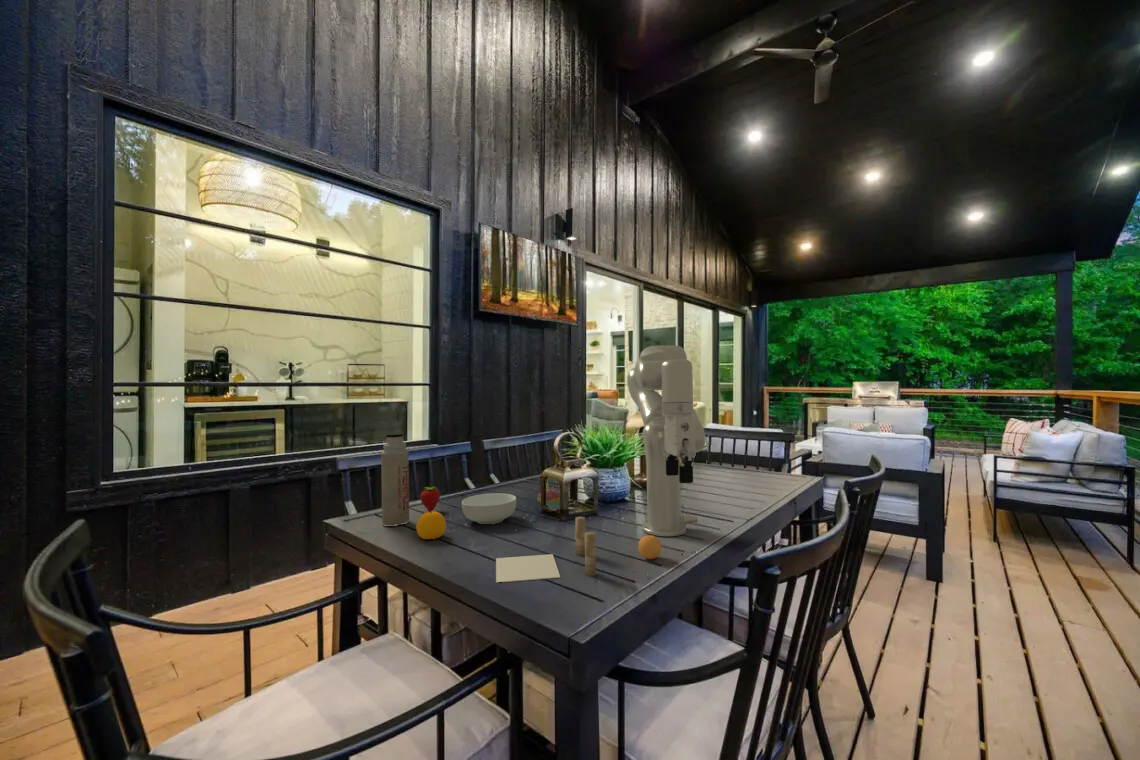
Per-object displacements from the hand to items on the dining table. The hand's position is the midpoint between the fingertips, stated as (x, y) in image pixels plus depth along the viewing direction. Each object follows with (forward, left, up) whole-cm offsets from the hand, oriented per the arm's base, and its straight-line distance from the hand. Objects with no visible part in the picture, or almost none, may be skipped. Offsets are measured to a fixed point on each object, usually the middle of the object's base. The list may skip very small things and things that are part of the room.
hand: (678, 478), depth 116 cm
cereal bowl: (+47, -40, -19) cm, 64 cm away
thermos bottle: (+76, -44, -19) cm, 90 cm away
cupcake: (+27, -48, -19) cm, 58 cm away
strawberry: (+67, -55, -19) cm, 88 cm away
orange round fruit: (+63, -27, -19) cm, 71 cm away
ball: (+8, 0, -16) cm, 18 cm away
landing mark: (+38, 0, -19) cm, 42 cm away
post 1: (+24, -6, -19) cm, 31 cm away
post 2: (+24, +7, -19) cm, 31 cm away
